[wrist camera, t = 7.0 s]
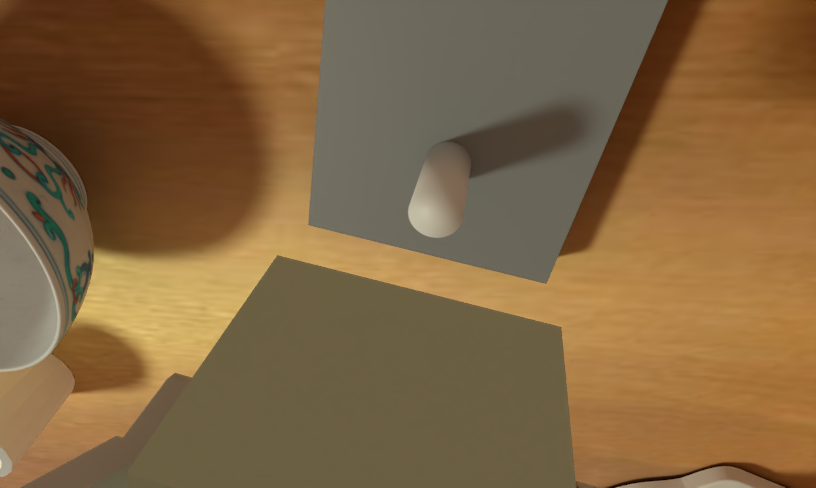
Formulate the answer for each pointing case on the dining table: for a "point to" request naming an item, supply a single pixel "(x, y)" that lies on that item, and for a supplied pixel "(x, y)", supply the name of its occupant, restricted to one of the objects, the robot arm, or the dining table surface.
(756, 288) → the dining table surface
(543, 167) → the stand board
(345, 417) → the collar block
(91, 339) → the dining table surface
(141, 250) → the dining table surface
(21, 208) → the chinaware
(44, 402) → the shot glass
